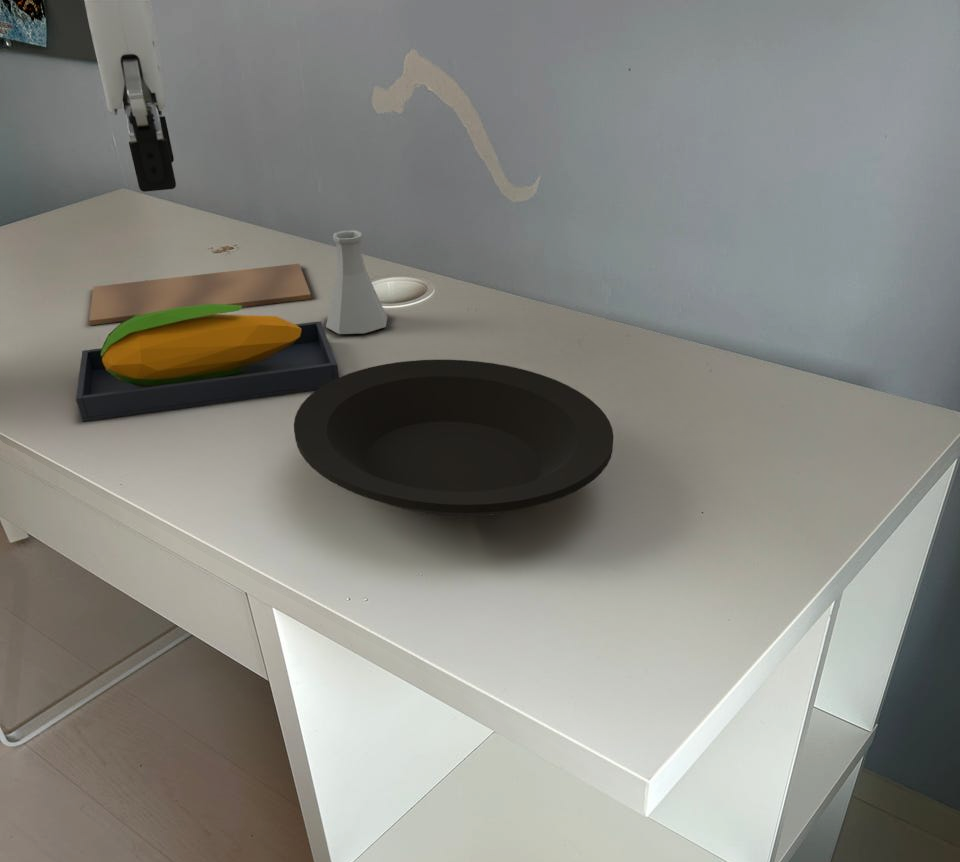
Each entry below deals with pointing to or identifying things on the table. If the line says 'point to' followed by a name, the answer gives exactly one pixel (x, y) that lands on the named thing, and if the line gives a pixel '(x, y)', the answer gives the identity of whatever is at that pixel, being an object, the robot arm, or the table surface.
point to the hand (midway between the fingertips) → (158, 176)
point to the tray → (209, 381)
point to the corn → (192, 344)
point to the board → (198, 292)
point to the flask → (353, 290)
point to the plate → (453, 436)
